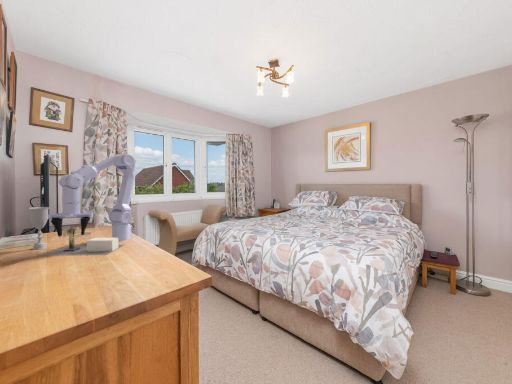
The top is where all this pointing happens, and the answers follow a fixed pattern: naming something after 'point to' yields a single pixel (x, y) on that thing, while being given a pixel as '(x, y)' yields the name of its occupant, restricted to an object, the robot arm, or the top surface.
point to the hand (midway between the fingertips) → (71, 235)
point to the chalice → (39, 223)
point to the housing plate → (78, 251)
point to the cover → (102, 244)
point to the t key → (71, 232)
